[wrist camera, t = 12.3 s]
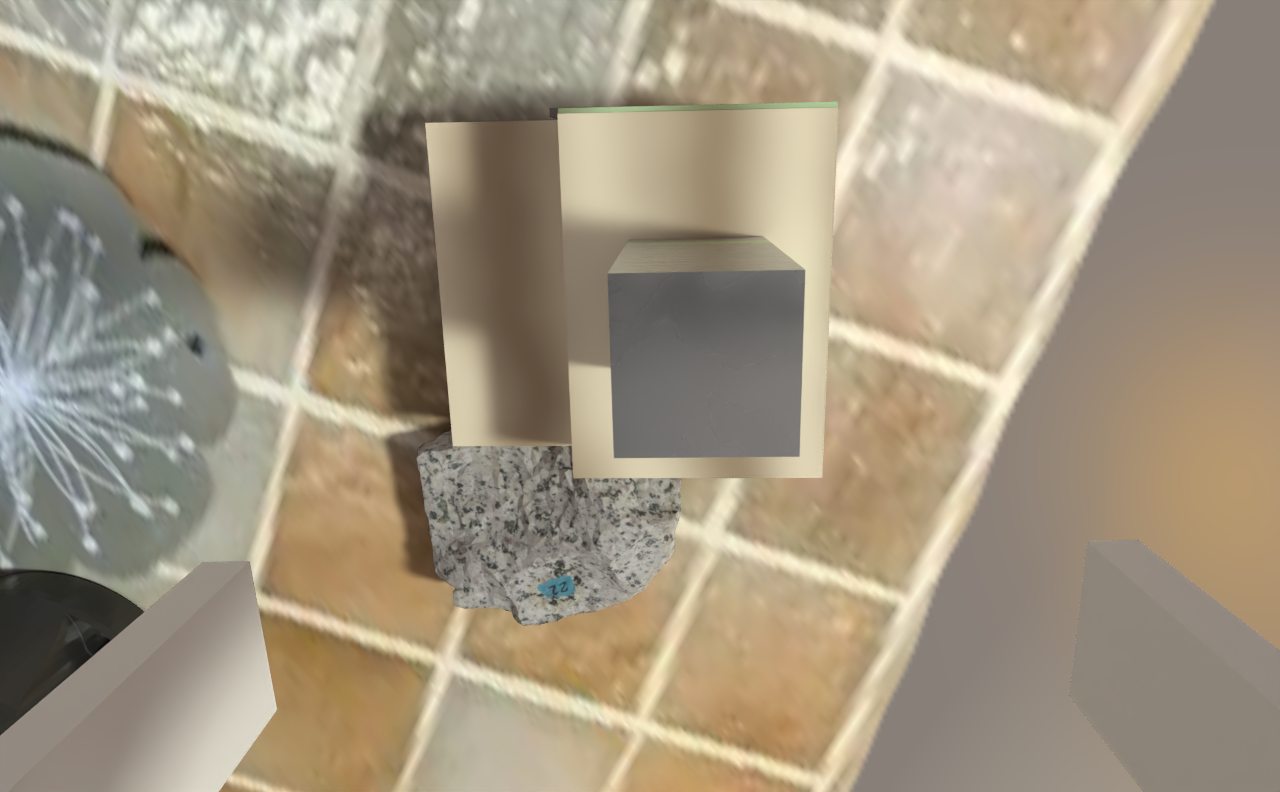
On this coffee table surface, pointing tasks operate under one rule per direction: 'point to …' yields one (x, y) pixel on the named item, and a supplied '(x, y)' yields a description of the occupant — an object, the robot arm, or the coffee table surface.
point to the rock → (542, 529)
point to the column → (706, 348)
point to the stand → (613, 259)
